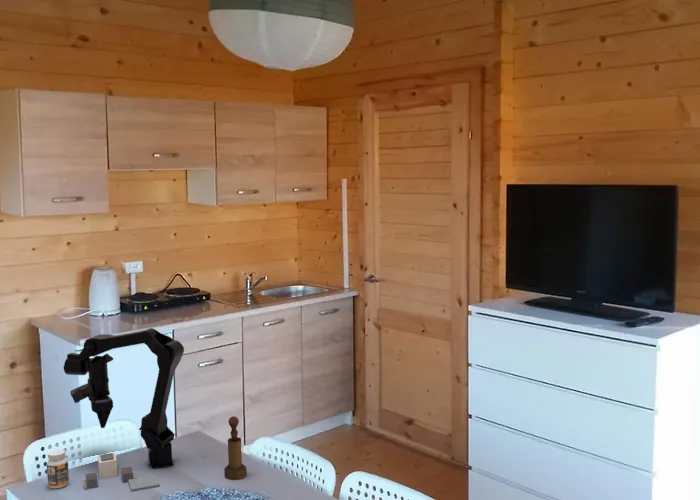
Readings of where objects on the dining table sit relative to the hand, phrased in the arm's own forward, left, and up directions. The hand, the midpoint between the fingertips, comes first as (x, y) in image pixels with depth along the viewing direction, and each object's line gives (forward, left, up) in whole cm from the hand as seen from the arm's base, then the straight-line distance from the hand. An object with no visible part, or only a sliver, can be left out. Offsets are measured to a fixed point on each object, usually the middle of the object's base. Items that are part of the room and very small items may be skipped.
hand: (101, 423), depth 230 cm
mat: (-9, +24, -12) cm, 29 cm away
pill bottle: (+14, +14, -12) cm, 23 cm away
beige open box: (0, +12, -12) cm, 17 cm away
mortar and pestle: (-35, +30, -12) cm, 48 cm away
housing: (0, +18, -12) cm, 22 cm away
